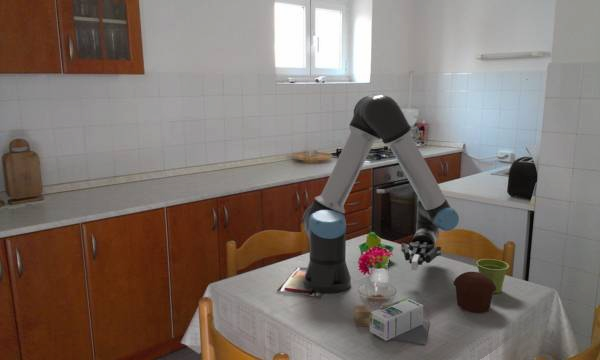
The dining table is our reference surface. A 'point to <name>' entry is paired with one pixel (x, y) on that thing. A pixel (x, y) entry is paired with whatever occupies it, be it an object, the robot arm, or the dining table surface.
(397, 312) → the syrup box
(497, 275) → the plant pot
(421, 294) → the dining table surface
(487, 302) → the muffin
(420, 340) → the rubber mat
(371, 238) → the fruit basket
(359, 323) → the oak block
